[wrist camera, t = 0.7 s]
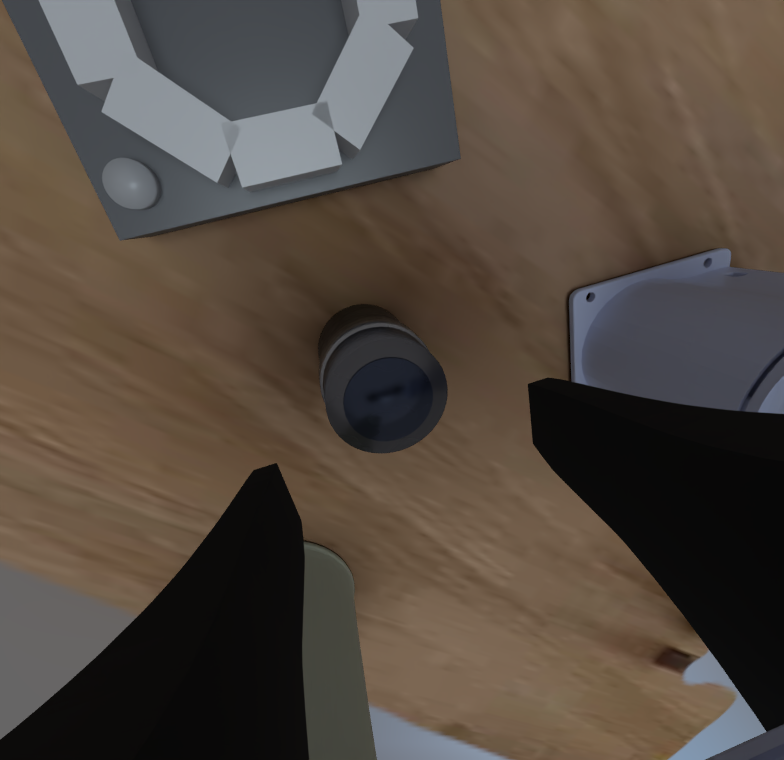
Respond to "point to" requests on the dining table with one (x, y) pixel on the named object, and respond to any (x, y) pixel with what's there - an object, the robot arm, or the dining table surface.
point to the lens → (378, 380)
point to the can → (333, 662)
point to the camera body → (240, 99)
